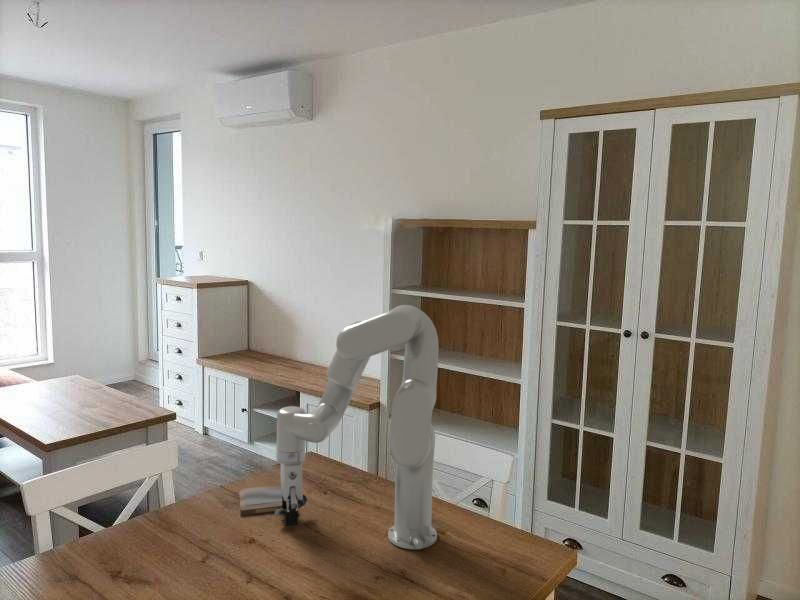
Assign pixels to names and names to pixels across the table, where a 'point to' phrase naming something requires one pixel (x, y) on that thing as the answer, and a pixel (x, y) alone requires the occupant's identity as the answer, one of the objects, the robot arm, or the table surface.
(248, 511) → the wooden picture frame
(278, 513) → the eagle figurine
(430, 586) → the table surface
